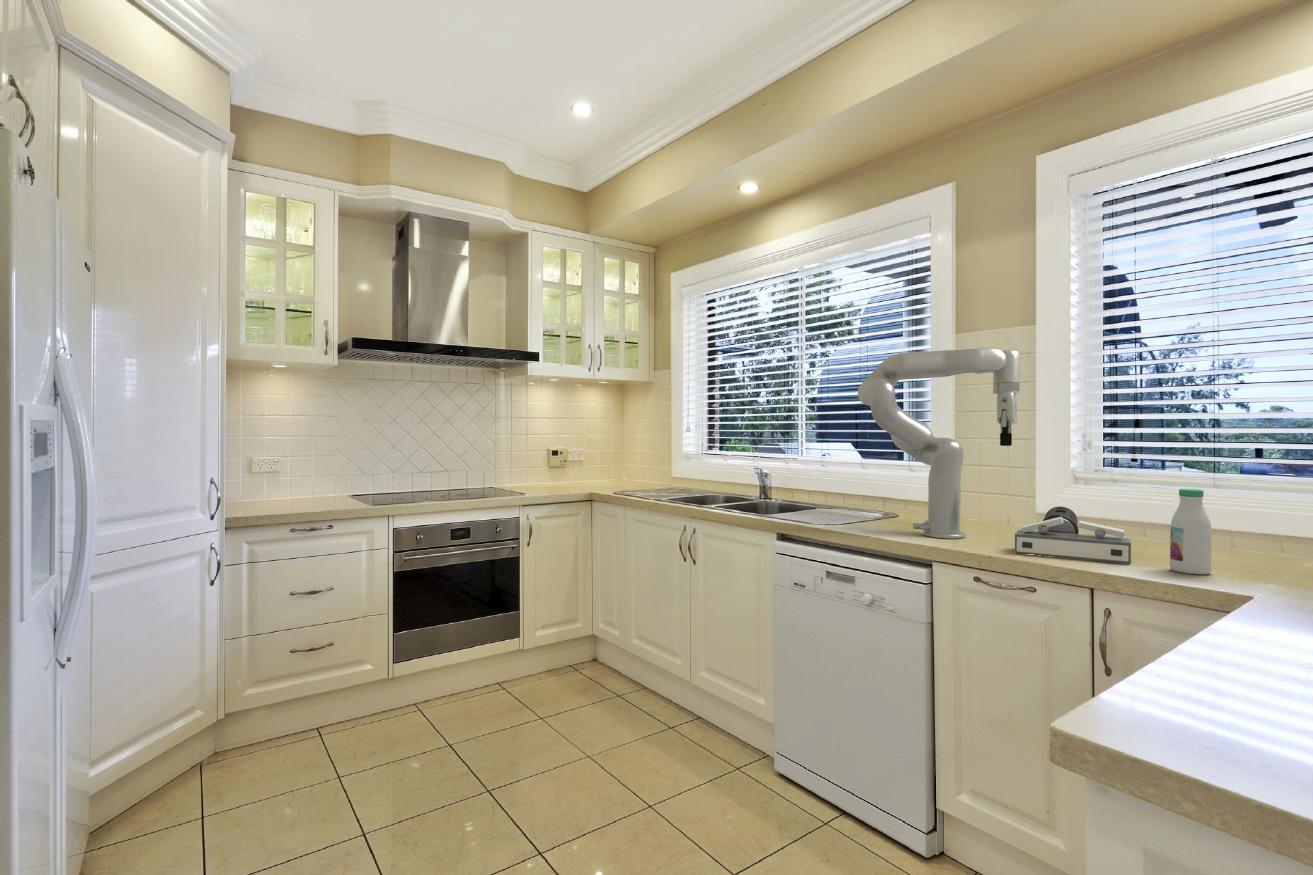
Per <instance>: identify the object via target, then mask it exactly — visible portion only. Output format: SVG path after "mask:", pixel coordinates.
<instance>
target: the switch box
mask: <svg viewBox="0 0 1313 875" xmlns="http://www.w3.org/2000/svg"><path fill="white" fill-rule="evenodd" d="M1015 553H1019V554H1018V555H1023V554H1034V555H1041V556H1040V557H1044V556H1054V557H1053V558H1055V557H1059V558H1058V559H1065V558H1066V559H1067V560H1068V559H1069V560H1076V559H1081V560H1080V561H1087V560H1089V561H1090V562H1097V561H1102V562H1101V563H1108V562H1109V563H1110V564H1119V563H1123V564H1122V565H1129V564H1131V565H1132V561H1131V560H1132V542H1131V538H1130V537H1118V536H1106V535H1105V536H1104V537H1103V538H1098V537H1096V536H1095V534H1094V535H1093V534H1092V535H1091V534H1079V533H1078V534H1069V533H1055V532H1046V533H1040V532H1039V531H1038V530H1034V531H1029V532H1025V533H1023V532H1022V529H1017V531H1015V533H1014V554H1015Z"/></svg>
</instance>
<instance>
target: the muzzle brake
mask: <svg viewBox="0 0 1313 875" xmlns="http://www.w3.org/2000/svg"><path fill="white" fill-rule="evenodd" d="M1058 517H1062V519H1063V521H1064V522H1063V524H1060V525H1055V526H1051V527H1049V529H1048V531H1047V532H1055V533H1069V534H1079V531H1080V530H1079V528H1078V525H1079V522H1078V517H1077V514H1076V513H1075V512H1074V511H1073V509H1071V508H1068V507H1065V506H1060V505H1059V506H1053V507H1052V508H1050V509H1049V510H1048V511H1047V512H1046V513H1045V515H1044V517H1043V519H1042V521H1045V520H1050V519H1054V518H1058Z"/></svg>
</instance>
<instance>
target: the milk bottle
mask: <svg viewBox="0 0 1313 875" xmlns="http://www.w3.org/2000/svg"><path fill="white" fill-rule="evenodd" d="M1204 494H1205V493H1204V490H1203V489H1201V488H1180V489H1178V498H1179V503H1178V506H1177V508H1176V510H1175V512H1174V513H1173V515H1172V517H1171V522H1170V538H1169V539H1170V540H1169V542H1170V543H1169V546H1170V548H1169V550H1170V551H1169V567H1170V569H1171V571H1174V572H1176V573H1177V572H1178V573H1183V574H1190V575H1211V573H1212V523H1211V520H1210V516H1209V515H1208V514H1207V512H1206V509H1205V507H1204V504H1203V500H1204Z"/></svg>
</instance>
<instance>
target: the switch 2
mask: <svg viewBox="0 0 1313 875" xmlns="http://www.w3.org/2000/svg"><path fill="white" fill-rule="evenodd" d="M1078 529H1082V530H1087V531H1092V532H1094V535H1095V536H1096V537H1098V538H1103V537H1104V536H1106V535H1110V536H1112V537H1122V538H1124V535H1125V530H1124V529H1121V528H1116V527H1112V526H1106V525H1102V524H1099V523H1098V524H1097V523H1094V522H1089V521H1084V520H1079V522H1078Z"/></svg>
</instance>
